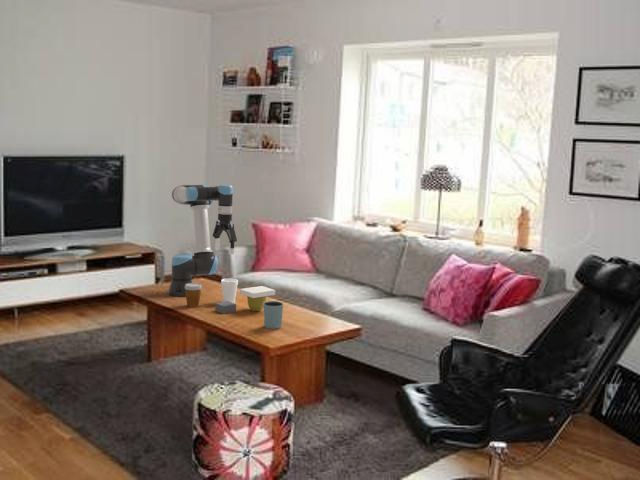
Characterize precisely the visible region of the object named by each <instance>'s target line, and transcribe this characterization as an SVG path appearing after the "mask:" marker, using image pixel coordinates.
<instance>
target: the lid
mask: <svg viewBox="0 0 640 480" xmlns="http://www.w3.org/2000/svg"><path fill="white" fill-rule="evenodd" d="M239 294H241V295H243V296H246V297H247V296H248V297H251V298H257V297H263V296H266V297H269V296H274V295H275V296H276V289H273V288H270V287H267V286H265V285H264V286H263V285H260V286H253V287H251V286H250V287H245V288H240V289H239Z"/></svg>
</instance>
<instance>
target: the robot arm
mask: <svg viewBox="0 0 640 480" xmlns="http://www.w3.org/2000/svg"><path fill="white" fill-rule="evenodd" d="M233 190H234V188H233V185H232V184H219V185H216V186H209V185H205V184H182V185H178V186H176V187H175V188H174V189H173V190H172V192H171V197H172V200H173V201H174V202H175V203H178V204H180V205H184V206H185V205H186V206H189V205H190V206H189V207H190V209H191V210H192V213H193V224H194V236H195V251H194V252H193V254H192V253H190V252H189V253H188V252H187V253H183V252H182V253H178V254H175V255H173V256H172V258H171V281H170V284H169V287H168V291H167V292H168V295H169V296H172V297H186V291H185V285H186V284H188V283H193V278H192V277H193V276H209V275H210V276H211V275H214V274H215V273H216V271H217V269H218V264H219V261H218V259H219V258H218V256H217V255H216V254H214V251H213V250H212V247H211V237H210V235H211V234H210V223H209V222H210V221H209V209H210V207H211V205H212V204H213V202H214V201H218V202H217V203H218V204H217V205H218V207H217V209H218V210H217V211H218V214H217V220H216V221H215V226H214V229H213V232H212V238H214V250H215V251H220V250H221V236H222V233H223V231H224V232H225V233H226V236H227V237H228V240H229V241H228V255H234V254H235V252H234V251H235V242H237V241H238V239H237V236H236V231H235V224H234V223H231V222H232V221H233V214H232V213H233V197H234V196H233V193H234V191H233Z"/></svg>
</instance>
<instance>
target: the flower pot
mask: <svg viewBox="0 0 640 480" xmlns="http://www.w3.org/2000/svg"><path fill="white" fill-rule="evenodd" d="M246 297H247V305H248V307H249V310H250V311H253V312H254V311H255V312H261V310H263V309H264V308H263V303H265V302H267V296H263V297H257V298H251V297H248V296H246Z"/></svg>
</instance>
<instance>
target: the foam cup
mask: <svg viewBox="0 0 640 480" xmlns="http://www.w3.org/2000/svg"><path fill="white" fill-rule="evenodd" d="M220 285H221V294H222V302H226V301H229V302H231V303H234V304H236V296H237V290H238V286H239V280H238V279H237V278H222V279H221V281H220Z"/></svg>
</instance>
